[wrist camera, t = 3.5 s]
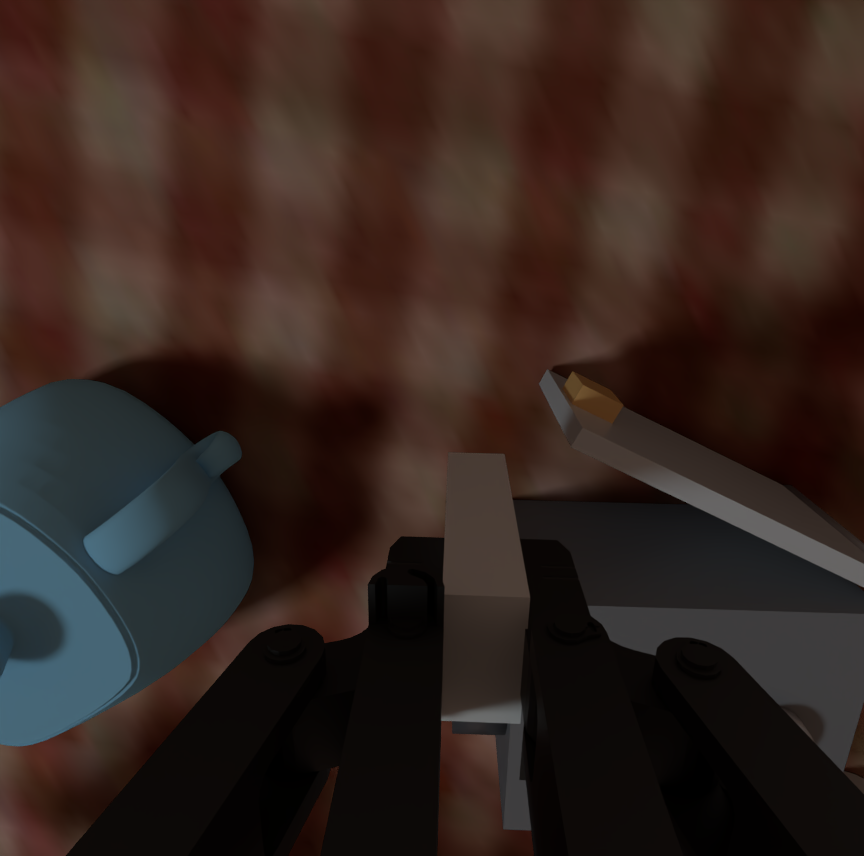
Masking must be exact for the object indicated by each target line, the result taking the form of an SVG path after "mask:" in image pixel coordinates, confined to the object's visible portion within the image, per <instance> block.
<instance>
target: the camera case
mask: <svg viewBox="0 0 864 856" xmlns="http://www.w3.org/2000/svg"><path fill="white" fill-rule="evenodd" d="M513 505H514V510H515V516H516V521H517V527H518V533H519V538H520V539H543V540H558V541H559V542H560V543H561V544H562V545H563V546H564V547H565V548H566V549H568V550H569V551H570V552H571V556H572V559H573V562H574V565H575V568H576V571H577V574H578V580H579V581H580V584H581V587H582V590H583V593H584V596H585V600H586V603H587V606H588V609H589V612H590V615H591V616H592V617H593V618H594V619H596V620H597V621H598V622H600V623H601V624H602V625H603V627H604V628H605V630H606V632H607V633H608V636H609V639H610V640H611V641H613V642H615V643H617V644H619V645H621V646H623V647H626V648H629V649H632V650H636V651H640V652H644V653H648V654H652V655H656V650H657V647H658V646H659V645H660V644H661V643H662V642H663V641H665V640H669V639H672V638H675V637H689V638H695V639H699V640H703V641H707V642H709V643H711V644H713V645H715V646H718V647H720V648H722V649H723V650H724V651H726V652H727V653H728V654H729V655H731V656H732V657H733V658H734V659H735V660H736V661H737V662H738V663H739V664H740V665H741V666H742V667H743V668H744V669H745V670H746V671H747V672H748V673H749V674H750V675H751V676H752V677H753V678H754V680H755V681H756V682H757V683H758V684H759V685H760V686H761V687H762V688H763V689H764V690H765V691H766V692H767V693H768V694H769V695H770V696H771V697H772V698H773V699H774V700H775V702H776V703H777V704H778V705H779V706H780V707H781V708H782V709H783V710H784V711H785V712H786V713H787V714H788V715H789V716H790V717H791V718H792V719H793V720H794V721H795V722H796V724H797V725H798V726H799V727H800V728H801V729H802V730H803V731H804V732H805V733H806V734H807V735H808V736H809V737H810V738H811V739H812V740H813V741H814V742H815V743H816V744H817V746H818V747H819V748H820V749H821V750H822V751H823V752H824V753H825V754H826V755H827V756H828V757H829V758H830V759H831V760H832V761H833V762H834V763H835V764H836V765H837V766H838V768H839V769H840V770H841V771H842V772H844V768H845V765H846V761H847V758H848V754H849V751H850V748H851V744H852V741H853V737H854V734H855V730H856V727H857V723H858V720H859V716H860V713H861V710H862V706H863V703H864V591H863V590H862V589H861V588H859V587H858V586H857V585H856V584H855V583H853V582H851V581H849V580H847V579H845V578H843V577H841V576H839V575H837V574H835V573H833V572H830V571H828V570H826V569H824V568H822V567H820V566H818V565H816V564H814V563H812V562H810V561H808V560H805V559H803V558H801V557H799V556H797V555H795V554H793V553H791V552H789V551H787V550H785V549H782V548H780V547H778V546H776V545H774V544H772V543H770V542H768V541H766V540H764V539H762V538H759V537H757V536H755V535H753V534H751V533H749V532H747V531H745V530H743V529H741V528H739V527H736V526H734V525H732V524H730V523H728V522H726V521H724V520H722V519H720V518H718V517H716V516H714V515H711V514H709V513H707V512H705V511H703V510H701V509H699V508H697V507H695V506H693V505H688V504H650V503H612V502H575V501H537V500H513ZM523 727H524V721H523V713H522V709H521V722H520V724H510V723H487V722H463V721H452V733H453V734H481V735H495V737H496V749H497V761H498V773H499V785H500V796H501V808H502V820H503V829H508V830H531V823H530V815H529V806H528V797H527V788H526V780H519V777H520V765H521V752H522V740H523Z"/></svg>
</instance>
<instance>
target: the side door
mask: <svg viewBox="0 0 864 856" xmlns="http://www.w3.org/2000/svg"><path fill="white" fill-rule="evenodd" d="M539 385H540V387H541V389H542V391H543V393H544V395H545V397H546V399H547V401H548V403H549V405H550V407H551V409H552V411H553V413H554V415H555V417H556V418H557V420H558V422H559V424H560V426H561V428H562V430H563V432H564V434H565V436H566V438H567V440H568V442H569V444H570V446H571V448H574V449H576V450H578V451H580V452H582V453H584V454H586V455H588V456H590V457H592V458H594V459H597V460H599V461H601V462H603V463H605V464H607V465H609V466H611V467H613V468H615V469H617V470H620V471H622V472H624V473H626V474H628V475H630V476H632V477H634V478H636V479H638V480H640V481H642V482H645V483H647V484H649V485H651V486H653V487H655V488H657V489H659V490H661V491H663V492H665V493H668V494H670V495H672V496H674V497H676V498H678V499H680V500H682V501H684V502H686V503H688V504H691V505H693V506H695V507H697V508H699V509H701V510H703V511H705V512H707V513H709V514H711V515H714V516H716V517H718V518H720V519H722V520H724V521H726V522H728V523H730V524H732V525H734V526H736V527H739V528H741V529H743V530H745V531H747V532H749V533H751V534H753V535H755V536H757V537H759V538H762V539H764V540H766V541H768V542H770V543H772V544H774V545H776V546H778V547H780V548H782V549H785V550H787V551H789V552H791V553H793V554H795V555H797V556H799V557H801V558H803V559H805V560H808V561H810V562H812V563H814V564H816V565H818V566H820V567H822V568H824V569H826V570H828V571H830V572H833V573H835V574H837V575H839V576H841V577H843V578H845V579H847V580H849V581H851V582H853V583H856V584H858V585H860V586H862V587H864V543H863V542H861V541H860V540H859V539H858V538H856V537H855V536H854V535H853V534H851V533H850V532H849V531H848V530H846V529H845V528H844V527H843V526H842V525H840V524H839V523H838V522H837V521H835V520H834V519H833V518H832V517H830V516H829V515H828V514H827V513H825V512H824V511H823V510H822V509H820V508H819V507H818V506H817V505H816V504H814V503H813V502H812V501H811V500H809V499H808V498H807V497H806V496H804V495H803V494H802V493H801V492H799V491H798V490H797V489H796V488H794V487H793V486H791V485H781V484H779V483H777V482H775V481H773V480H771V479H769V478H767V477H765V476H763V475H761V474H759V473H757V472H755V471H753V470H751V469H749V468H747V467H745V466H743V465H741V464H739V463H737V462H735V461H733V460H731V459H729V458H727V457H725V456H723V455H720V454H718V453H716V452H714V451H712V450H710V449H708V448H706V447H704V446H702V445H700V444H698V443H696V442H694V441H692V440H690V439H688V438H686V437H684V436H682V435H680V434H678V433H676V432H674V431H672V430H670V429H668V428H666V427H664V426H662V425H660V424H658V423H656V422H653V421H651V420H649V419H647V418H645V417H643V416H641V415H639V414H637V413H635V412H633V411H631V410H629V409H627V408H625V407H623V406H624V405H623V404H622V402H621V401H620V400H619V399H618V398H617V397H616V396H615V395H614V393H613V392H612V391H611V390H610V389H608V388H606V387H604V386H602V385H600V384H598V383H596V382H594V381H592V380H590V379H588V378H586V377H584V376H582V375H580V374H578V373H576V372H574V371H572V373H571V374H570V376H569V378H568V379H566V378H564V377H562V376H560V375H558V374H556V373H554V372H552V371H550V370H548V369H547V371H546V372H545V374H544V376H543V378H542V380H541V381H540V383H539Z"/></svg>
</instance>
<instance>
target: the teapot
mask: <svg viewBox="0 0 864 856" xmlns="http://www.w3.org/2000/svg"><path fill="white" fill-rule="evenodd" d="M241 457H242V451H241V448H240V445H239V443H238V441H237V440H236V438H234V437H233V436H232V435H230V434H229V433H227V432H224V431H218V432H215V433H213V434H211V435H209V436H207V437H206V438H204V439H202V440H201V441H199V442H198V443H196V444H195V445H194V444H193V443H192V442H191V441H190V440H189V439H188V438H187V437H186V436H185V435H184V434H183V433H182V432H181V431H180V430H179V429H177V428H176V427H175V426H174V425H173V424H171V423H170V422H169V421H168V420H167V419H165V418H164V417H163V416H162V415H160V414H159V413H158V412H156V411H155V410H154V409H152V408H151V407H150V406H148V405H147V404H146V403H144V402H142V401H141V400H139V399H137V398H136V397H134V396H132V395H131V394H129V393H127V392H126V391H124V390H121V389H119V388H116V387H114V386H111V385H109V384H106V383H103V382H98V381H93V380H81V379H67V380H62V381H57V382H52V383H49V384H47V385H44V386H42V387H40V388H38V389H35V390H33V391H31V392H29V393H27V394H25V395H23V396H21V397H19V398H17V399H15V400H13V401H11V402H9V403H7V404H6V405H4V406H2V407H0V744H3V745H9V746H26V745H32V744H35V743H38V742H41V741H44V740H47V739H49V738H51V737H54V736H56V735H58V734H60V733H63V732H65V731H67V730H69V729H71V728H73V727H75V726H77V725H79V724H81V723H83V722H85V721H87V720H89V719H91V718H93V717H95V716H96V715H98V714H100V713H102V712H104V711H106V710H107V709H109V708H111V707H113V706H115V705H117V704H118V703H120V702H122V701H124V700H126V699H127V698H129V697H131V696H133V695H134V694H136V693H138V692H139V691H141V690H142V689H144V688H145V687H147V686H149V685H150V684H152V683H153V682H155V681H156V680H158V679H159V678H161V677H162V676H164V675H165V674H167V673H168V672H170V671H171V670H172V669H173V668H175V667H176V666H177V665H179V664H180V663H181V662H182V661H184V660H185V659H186V658H187V657H189V656H190V655H191V654H192V653H193V652H195V651H196V650H197V649H198V648H199V647H200V646H202V645H203V644H204V643H205V642H206V641H207V640H208V639H210V638H211V637H212V636H213V635H214V634H215V633H216V632H217V631H218V630H219V629H220V628H221V627H222V626H223V625H224V624H225V623H226V621H227V620H228V619H229V618H230V616H231V615H232V614H233V613H234V611H235V610H236V608H237V607H238V605H239V604H240V602H241V601H242V599H243V598H244V596H245V594H246V593H247V591H248V589H249V586H250V583H251V581H252V575H253V567H254V556H253V548H252V544H251V540H250V537H249V534H248V530H247V528H246V526H245V523H244V521H243V519H242V516H241V514H240V512H239V509H238V507H237V505H236V503H235V502H234V500H233V498H232V496H231V494H230V492H229V490H228V489H227V487H226V485H225V484H224V482H223V481H222V479H221V477H220V475H221V474H222V473H223V472H224V471H225V470H227V469H228V468H229V467H230V466H232V465H233V464H235V463H236V462H237V461H239V460H240V459H241Z"/></svg>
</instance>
